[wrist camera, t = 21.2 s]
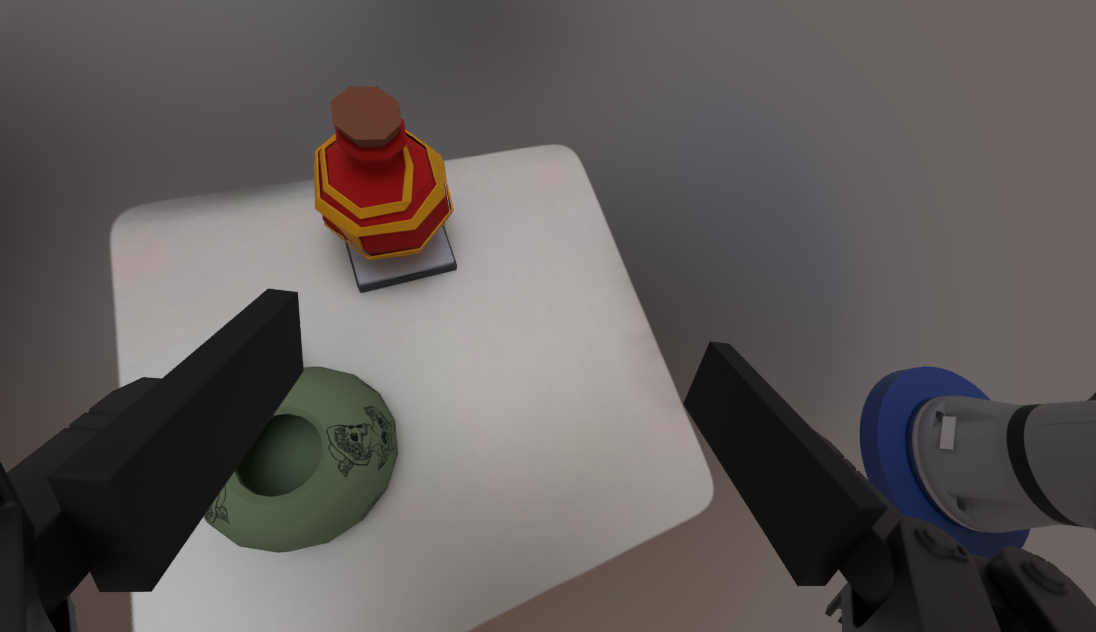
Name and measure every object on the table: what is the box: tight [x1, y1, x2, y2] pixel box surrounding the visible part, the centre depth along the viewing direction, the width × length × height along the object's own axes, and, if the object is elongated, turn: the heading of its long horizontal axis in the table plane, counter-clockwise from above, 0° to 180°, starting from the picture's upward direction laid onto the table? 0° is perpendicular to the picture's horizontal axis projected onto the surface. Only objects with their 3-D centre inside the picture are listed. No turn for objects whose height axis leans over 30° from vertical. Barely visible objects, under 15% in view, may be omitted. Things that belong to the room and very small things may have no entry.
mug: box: [204, 367, 398, 553], centre depth 30 cm, size 16×13×9 cm
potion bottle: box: [314, 87, 453, 260], centre depth 32 cm, size 10×10×15 cm
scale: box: [344, 225, 457, 293], centre depth 40 cm, size 9×9×2 cm
